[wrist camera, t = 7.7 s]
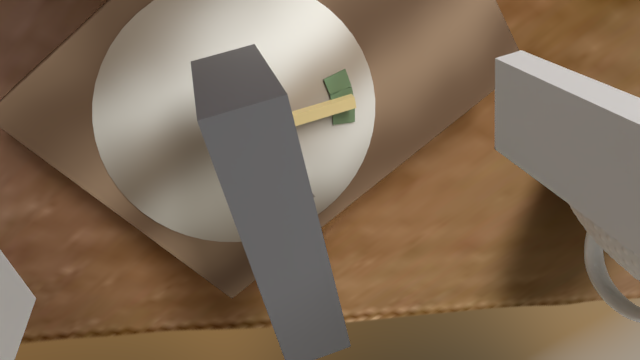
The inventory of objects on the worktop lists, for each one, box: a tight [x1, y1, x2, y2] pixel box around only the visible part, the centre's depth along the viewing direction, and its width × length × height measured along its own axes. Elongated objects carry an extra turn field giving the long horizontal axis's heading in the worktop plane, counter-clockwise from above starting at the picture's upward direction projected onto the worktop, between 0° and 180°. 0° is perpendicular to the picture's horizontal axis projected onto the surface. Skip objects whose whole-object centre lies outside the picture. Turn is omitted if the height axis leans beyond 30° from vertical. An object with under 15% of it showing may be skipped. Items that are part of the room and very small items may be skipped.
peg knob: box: [191, 44, 356, 360], centre depth 20 cm, size 7×10×11 cm
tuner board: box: [0, 0, 519, 298], centre depth 25 cm, size 16×22×4 cm
